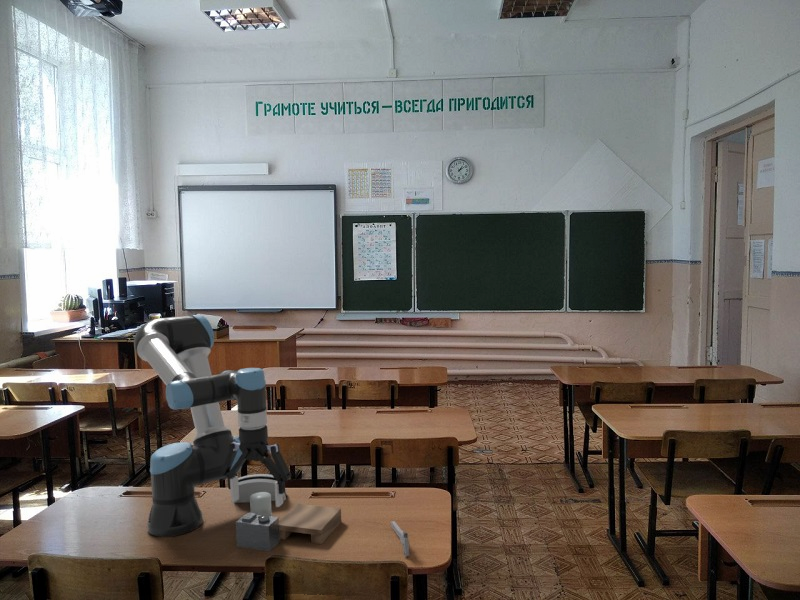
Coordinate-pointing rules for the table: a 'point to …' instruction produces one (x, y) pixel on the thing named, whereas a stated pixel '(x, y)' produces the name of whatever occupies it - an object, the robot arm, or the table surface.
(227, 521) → the table surface
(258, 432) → the robot arm
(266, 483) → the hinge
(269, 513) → the pale grey pebble
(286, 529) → the stand
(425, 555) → the table surface
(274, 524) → the housing
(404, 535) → the caliper
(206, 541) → the table surface
